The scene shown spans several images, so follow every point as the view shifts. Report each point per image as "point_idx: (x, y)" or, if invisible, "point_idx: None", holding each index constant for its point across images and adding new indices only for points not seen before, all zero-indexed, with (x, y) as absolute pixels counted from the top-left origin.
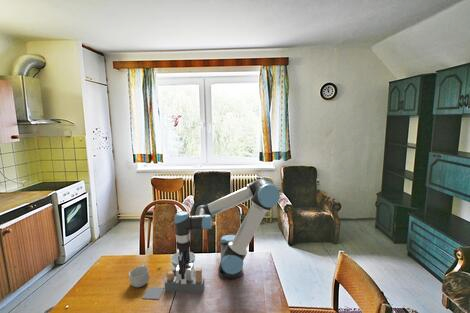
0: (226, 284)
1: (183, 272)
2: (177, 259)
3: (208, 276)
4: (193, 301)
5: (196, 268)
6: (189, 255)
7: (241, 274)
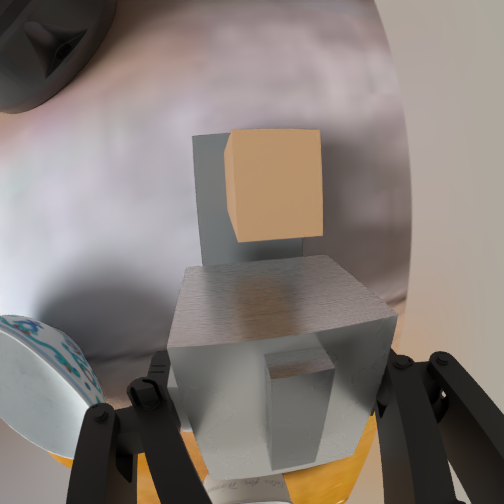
0: (166, 10)
1: (459, 365)
2: (39, 409)
3: (79, 156)
4: (365, 187)
5: (258, 232)
6: (75, 475)
7: None
